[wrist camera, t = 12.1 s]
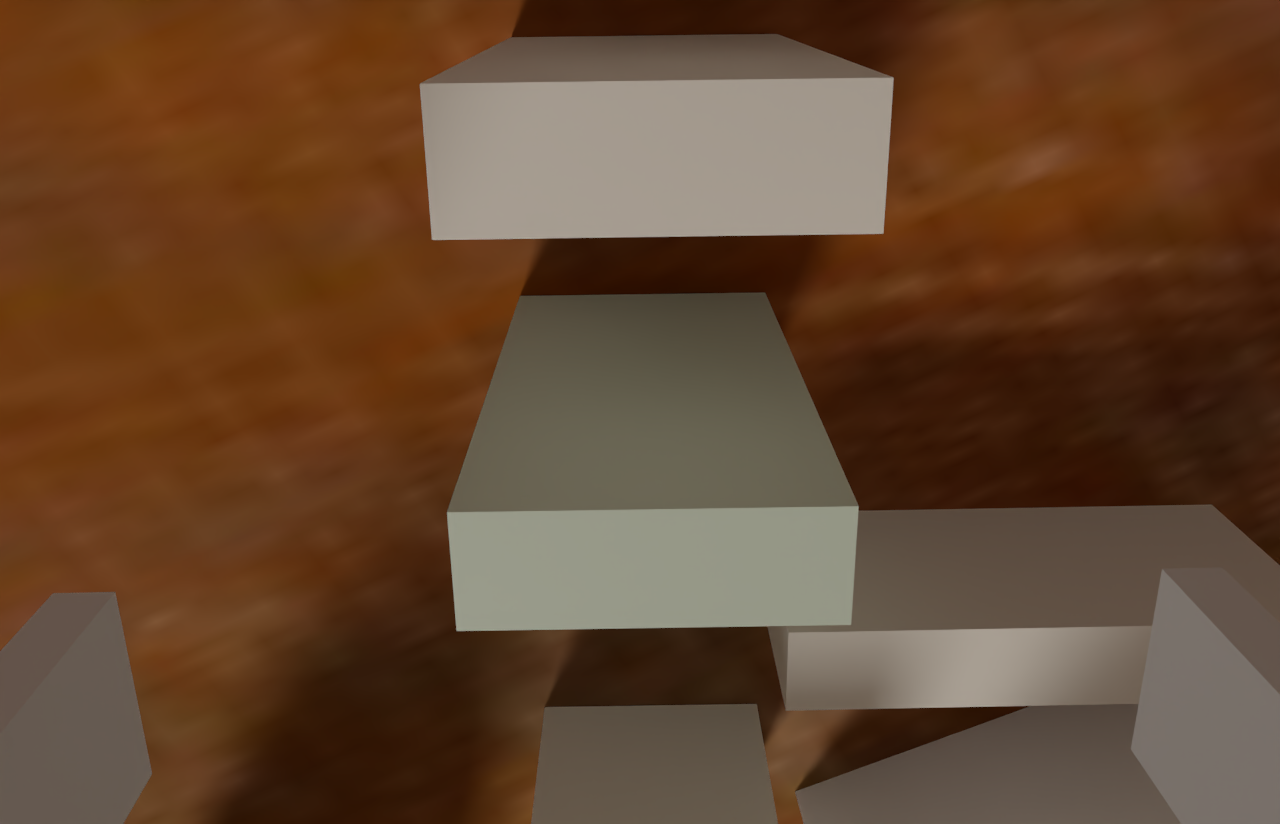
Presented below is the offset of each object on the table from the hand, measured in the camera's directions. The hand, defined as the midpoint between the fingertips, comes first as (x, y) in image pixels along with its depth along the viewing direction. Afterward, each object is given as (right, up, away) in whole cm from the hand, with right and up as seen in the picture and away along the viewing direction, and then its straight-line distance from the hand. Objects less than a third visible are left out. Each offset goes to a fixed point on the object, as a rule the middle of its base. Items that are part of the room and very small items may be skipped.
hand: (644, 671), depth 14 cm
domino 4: (+3, -1, +13) cm, 14 cm away
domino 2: (0, +11, +11) cm, 16 cm away
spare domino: (0, +5, +14) cm, 15 cm away
